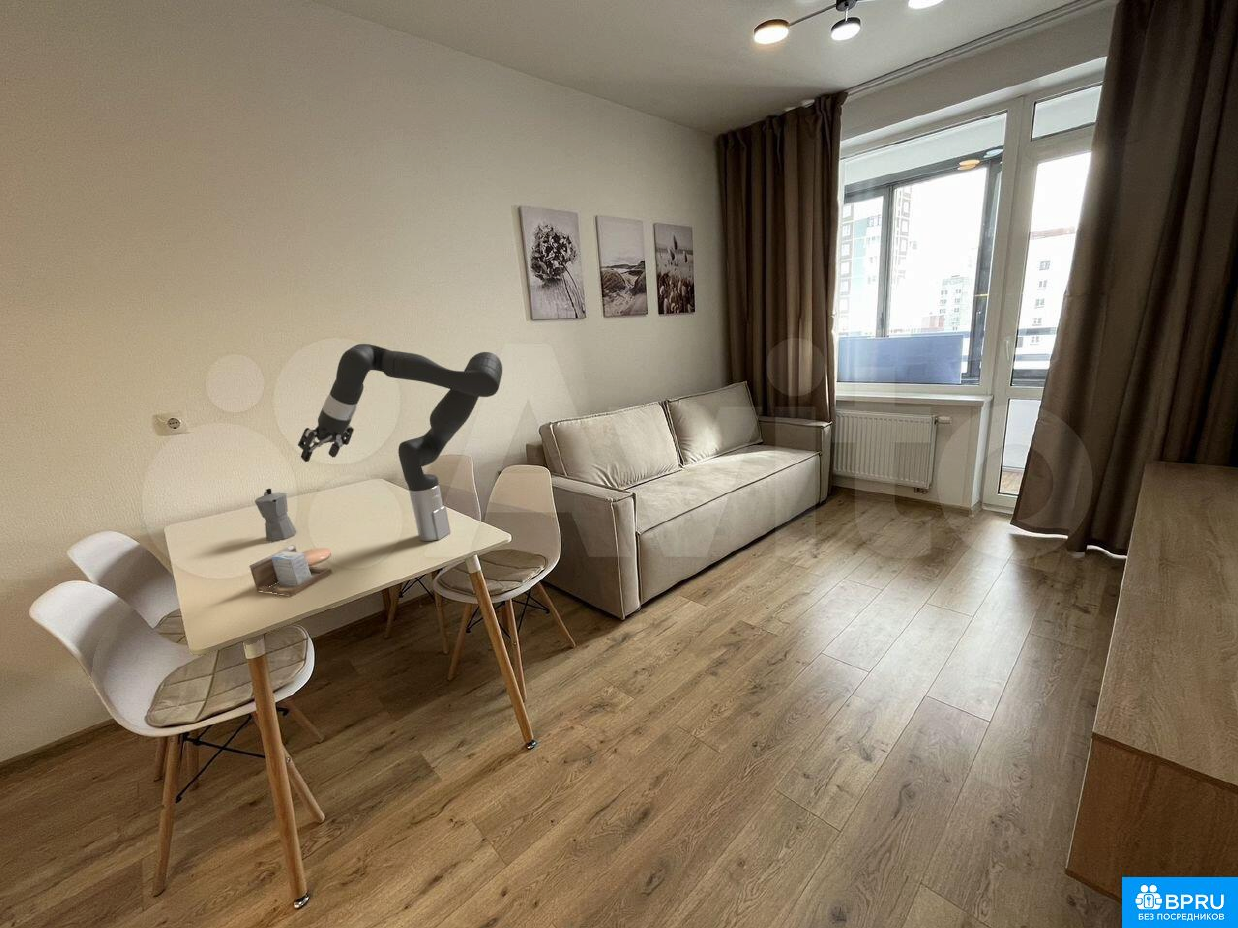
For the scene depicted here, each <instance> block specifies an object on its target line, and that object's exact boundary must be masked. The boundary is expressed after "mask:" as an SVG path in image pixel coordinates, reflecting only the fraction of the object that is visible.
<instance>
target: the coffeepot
mask: <svg viewBox="0 0 1238 928" xmlns="http://www.w3.org/2000/svg"><path fill="white" fill-rule="evenodd" d="M287 498H288V497H287V493H286V492H273V493H272V488H266V489H265V492H264V493H263V495H262V496H260V497H257V498H256V499H255V500H254V503H255V505H256V506H257V507H256V508H257V509H258V511H259V513H260V515H261V516H262V518H263V519H264V521H265V523H264V525H265V527H264V528H265V539H266V541H267V542H269V541H276V542H281V541H285V540H287V539H290V538H292V537H294V536H295V535H296V533H297V530H296V528H295V526H294V524H293V522H292V520H291V518H290V517H289V515H288V511H289V509H288V499H287ZM280 540H281V541H280Z"/></svg>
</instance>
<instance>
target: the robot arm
mask: <svg viewBox="0 0 1238 928" xmlns="http://www.w3.org/2000/svg"><path fill="white" fill-rule="evenodd" d="M370 371H377V372H382V373H383V374H384V375H385V376H386V377H389V378H392V379H393V378H394V379H401V380H407V381H410V380H411V381H416V382H422V383H427V384H431V385H434V386H438V387H441V388H446V389H448V391H447V393H446V394H444V396H443V397H442V398H441V400H439V402H438V403H437V404H436V406H435V407H434V409H433V410H432V411H431V414H430V416H429V425H430V429H429V430H428V431H427V432H426V433H425V434H424V435H421V436H418V437H415V438H412V439H407V440H403V441H401V442H400V443H399V446H398V449H397V450H398V451H397V453H398V458H399V462H400V466H401V470H402V474H403V477H404V480H405V482H406V485H407V488H408V490H409V491H408V492H409V496H410V502H411V505H412V511H413V515H414V519H415V521H414V522H415V524H416V530H417V534H418V539H419V540H420V541H422V542H432V541H439V540H441V539H443V538H444V537H446V536H447V535H449V534H450V533H451V527H450V522H449V518H448V512H447V507H446V505H444V503H443V498H442V494H441V488H440V482H439V478H438V476H437V475H435V474H430V473H429V474H427V473H424V470H423V468H422V467H424V466H427V465H431V464H433V463H434V462H436V461H437V459H438V458H439V457H440V456H441V453H442V452H443V451H444V449H445V447H446V446H447V444H448V443H449V441H450V440H451V439H452V438H453V437H454V436H455V435H456V433H457V432H458V431H459V430H460V429H461V428H462V427H463V426H464V425H465V423H466V422H467V421H468V419H469V418H470V416H471V414H472V412H473V411H474V408H475V406H476V404H477V402H478V400H479V398H489V397H492V396H494V395H496V394H497V393H498V391H499V388H500V385H501V379H502V376H503V364H502V361H501V360H500V358H499V357H498V355H496V354H495V353H493V352H490V351H481V352H478V353H476V354H474V355H473V356H472V357H471V358H470V359H469V361H468V363H467V365H466V367H465V368H464V370H463V371H460V370H459V371H458V370H453V369H449V368H446V367H444V366H442V365H440V364H438V363H437V362H435V361H433V360H431V359H429V358H428V357H426V356H424V355H422V354H419V353H414V352H413V353H412V352H405V351H399V350H391V349H388V348H385V347H381V346H378V345H374V344H369V343H358V344H355V345H353V346H352V347H349V348H348V349H347V350H345V351H344V353H343V354H342V356H341V357H340V359H339V362H338V364H337V370H336V376H335V380H334V382H333V384H332V386H331V390H330V392H329V394H328V395H327V397H326V398H325V401H324V404H322V405H323V406H322V408H321V410H320V413H319V415H318V417H317V427H315V429H311V428H309V427H306V428H304V430H303V432H302V435H301V438H300V439H299V442H298V443H297V446H298V447H299V448H300V449H301V450H302V452H301V455H300V458H301V460H302V461H304V463H309V461H310V460H311V457H312V455H313V452H314V450H316V448H320V447H322V446H323V445H324V444H327V443H331V445H330V448H329V450H328V455H329V456H330V457H332V458H336V456H337V455H338V453H339V451H340V449H341V448H342V447H344V445H345V446H347V445H349V443H350V441H351V439H352V437H353V433H354V431H355V428H353V427H352V426H351V425H350V424H351V422H352V420H353V417H354V415H355V413H356V411H357V406H358V403H359V401H360V399H361V397H362V394H363V393H364V392H363V391H364V387H365V385H364V381H365V379H366V377H367V375H368V373H369V372H370ZM316 439H317V440H318V441H317V440H316ZM312 444H313V445H312Z"/></svg>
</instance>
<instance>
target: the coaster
mask: <svg viewBox="0 0 1238 928" xmlns="http://www.w3.org/2000/svg"><path fill="white" fill-rule="evenodd" d="M300 553H305V556H306V560H307V563H308V566H309V567H313V566H315V565H317V564H319V563H322V562H324V561H326V560H327V559H329V558H330V557H331V555H332V552H331V549H329V548H327V547H326V548H325V547H318V548H312V549H307V550H303V551H301V552H300Z"/></svg>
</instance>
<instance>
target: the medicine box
mask: <svg viewBox="0 0 1238 928" xmlns="http://www.w3.org/2000/svg"><path fill="white" fill-rule="evenodd" d="M271 559H272V563H273V566H274V569H275V572H276V576H277V579H278V582H279V583H278V585H279V584H281V586H287V587H296V586H298V585H300V584H301V583H303V582H305V581H307V580H309V579H310V578H312V577H313V576H312V573H310V570H309V567H310V566H308V563H307V560H306V556H305V553H301V552H300V551H297V552H289V551H284V552H282V553H280V554H277V555H276V556H274V557H272V558H271Z"/></svg>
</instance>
